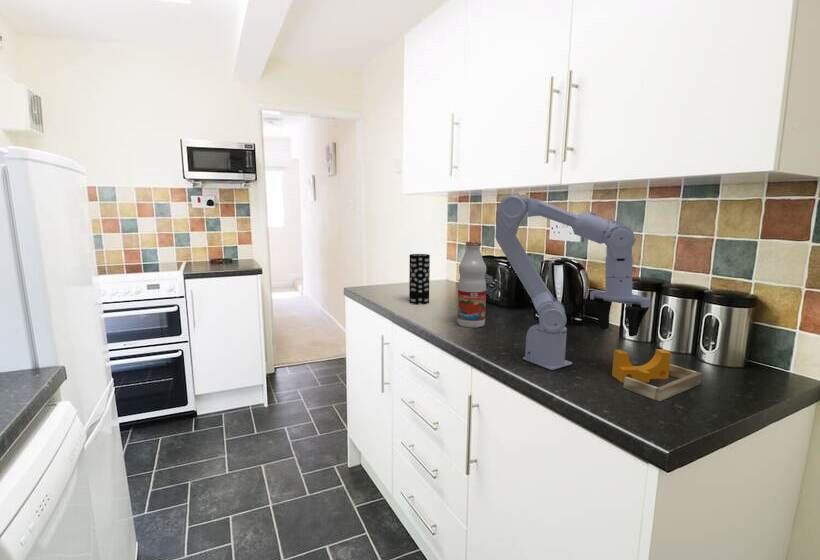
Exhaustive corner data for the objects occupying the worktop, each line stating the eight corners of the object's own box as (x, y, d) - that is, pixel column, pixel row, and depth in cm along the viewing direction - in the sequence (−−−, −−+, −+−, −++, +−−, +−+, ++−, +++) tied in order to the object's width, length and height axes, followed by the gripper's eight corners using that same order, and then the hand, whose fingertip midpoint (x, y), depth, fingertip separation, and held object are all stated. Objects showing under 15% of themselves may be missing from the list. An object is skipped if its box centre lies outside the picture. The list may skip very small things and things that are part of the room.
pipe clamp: (621, 383, 97) (624, 356, 96) (611, 375, 101) (614, 349, 100) (673, 382, 97) (676, 355, 96) (661, 375, 102) (663, 349, 100)
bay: (623, 388, 94) (624, 377, 93) (665, 372, 103) (666, 362, 102) (659, 401, 87) (660, 390, 87) (700, 383, 96) (702, 373, 96)
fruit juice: (483, 321, 149) (486, 241, 145) (486, 328, 140) (489, 243, 135) (456, 320, 150) (458, 240, 145) (457, 327, 141) (459, 242, 136)
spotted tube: (428, 300, 183) (428, 253, 180) (430, 304, 175) (430, 256, 172) (408, 300, 183) (408, 253, 179) (410, 304, 174) (410, 256, 171)
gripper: (659, 277, 96) (658, 335, 98) (603, 271, 109) (603, 323, 111) (639, 280, 93) (638, 341, 95) (584, 275, 106) (584, 328, 108)
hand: (618, 332), depth 103 cm, fingers open, 7 cm apart
